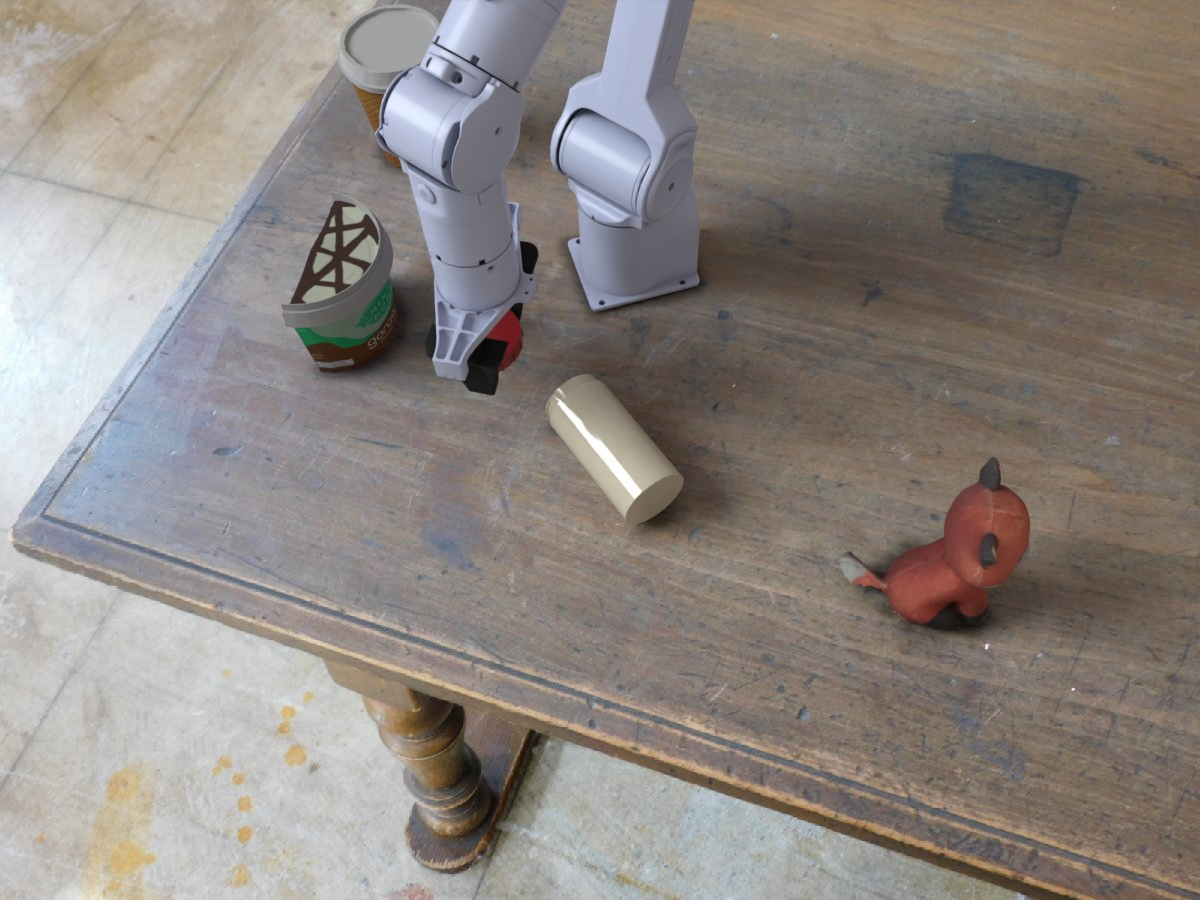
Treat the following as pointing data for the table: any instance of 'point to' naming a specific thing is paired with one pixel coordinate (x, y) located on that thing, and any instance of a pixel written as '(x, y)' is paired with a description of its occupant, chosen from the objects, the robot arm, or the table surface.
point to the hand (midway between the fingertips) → (494, 355)
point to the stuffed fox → (956, 558)
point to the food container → (346, 290)
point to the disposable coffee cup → (383, 52)
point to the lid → (508, 337)
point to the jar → (613, 448)
